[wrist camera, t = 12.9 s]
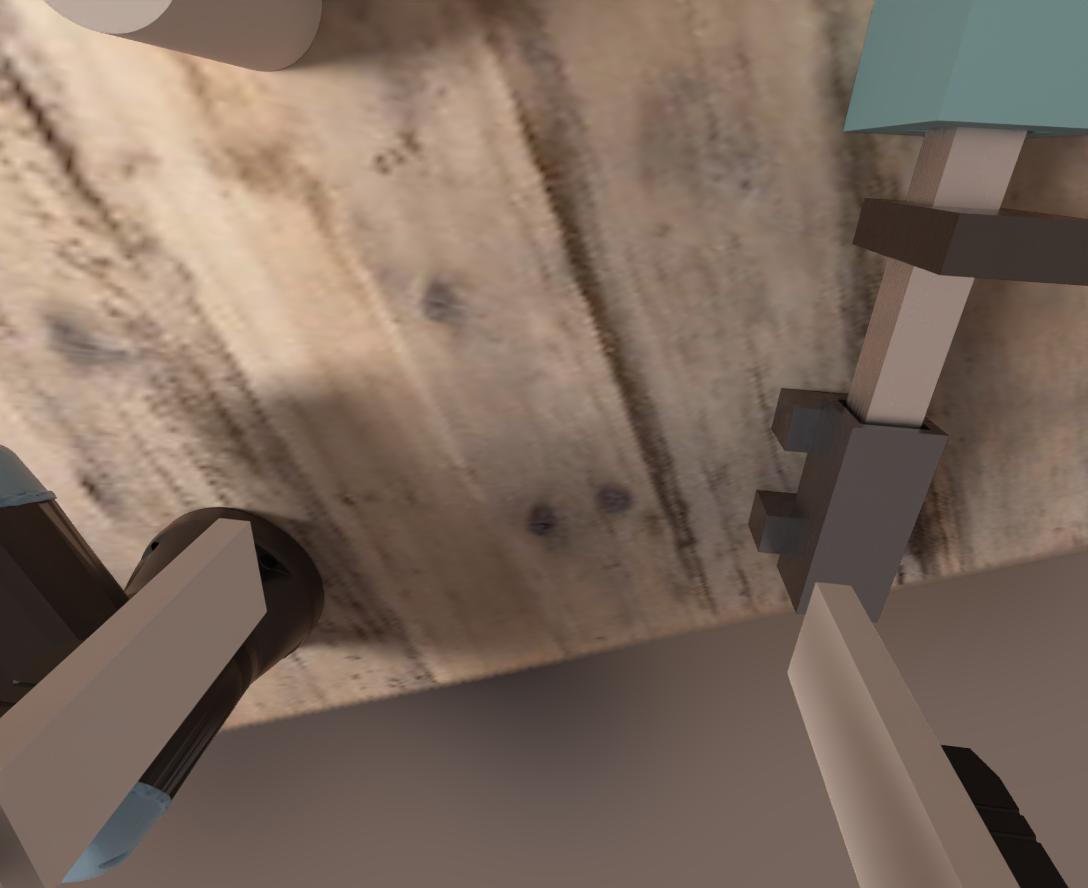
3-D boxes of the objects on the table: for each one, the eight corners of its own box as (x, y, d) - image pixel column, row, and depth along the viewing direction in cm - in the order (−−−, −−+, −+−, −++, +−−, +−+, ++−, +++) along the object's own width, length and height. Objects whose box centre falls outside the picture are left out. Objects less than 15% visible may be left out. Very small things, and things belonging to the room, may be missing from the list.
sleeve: (853, 546, 45) (901, 625, 38) (745, 535, 46) (772, 610, 38) (907, 384, 40) (978, 438, 32) (784, 374, 40) (824, 424, 33)
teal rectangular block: (990, 139, 33) (1149, 131, 24) (843, 131, 34) (937, 120, 24) (1034, 9, 31) (1234, -62, 21) (874, 2, 31) (994, -70, 21)
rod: (878, 496, 40) (955, 594, 31) (787, 488, 41) (837, 581, 32) (1031, 56, 29) (1217, 10, 20) (904, 50, 30) (1030, 2, 21)
